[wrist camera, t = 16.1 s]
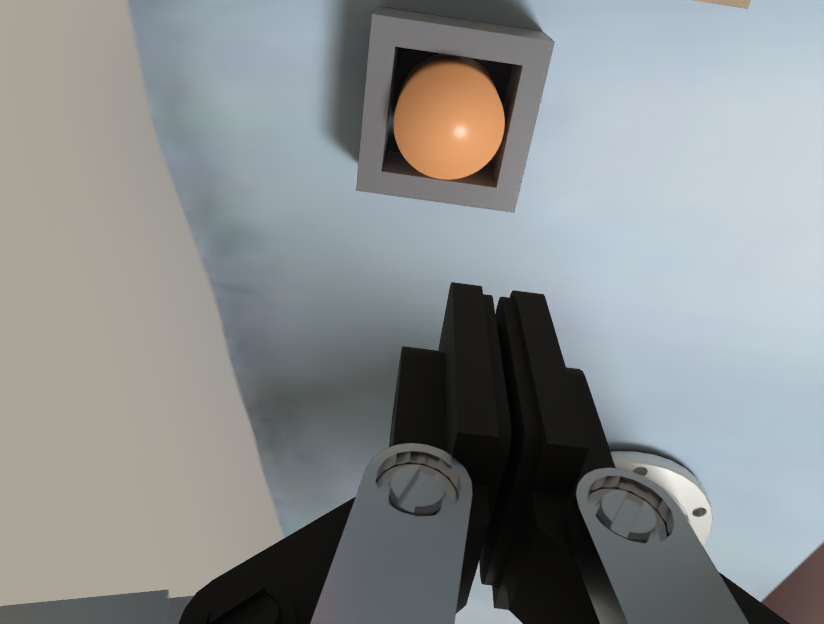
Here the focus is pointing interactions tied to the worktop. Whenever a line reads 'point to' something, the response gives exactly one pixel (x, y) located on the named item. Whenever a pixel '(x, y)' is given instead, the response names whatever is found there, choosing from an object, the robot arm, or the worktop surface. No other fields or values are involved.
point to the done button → (448, 117)
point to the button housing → (467, 40)
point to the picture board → (729, 2)
